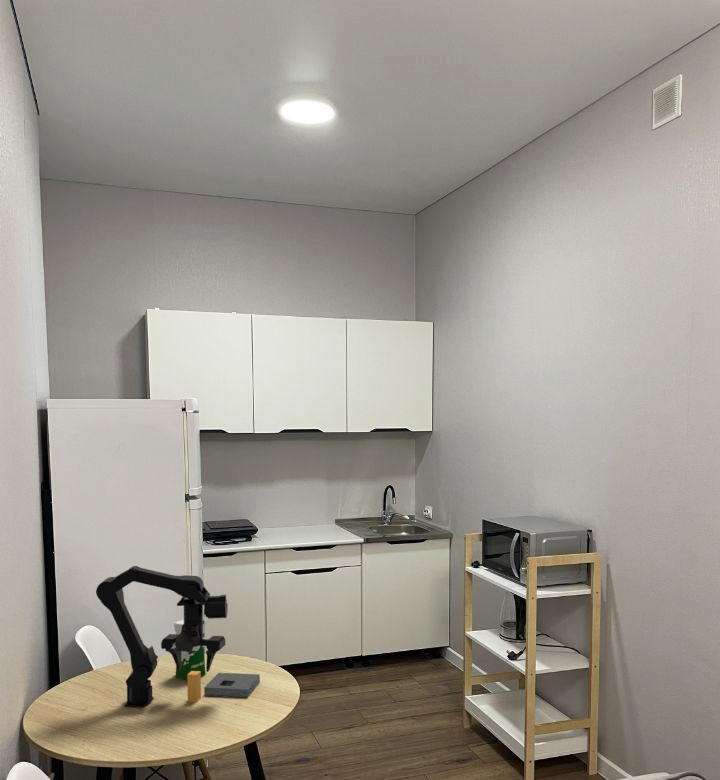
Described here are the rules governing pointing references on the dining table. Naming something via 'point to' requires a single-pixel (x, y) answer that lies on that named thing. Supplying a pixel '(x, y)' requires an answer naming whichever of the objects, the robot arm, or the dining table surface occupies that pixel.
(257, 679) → the gray slab with hole
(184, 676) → the milk carton
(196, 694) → the tan rectangular box
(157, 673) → the dining table surface
